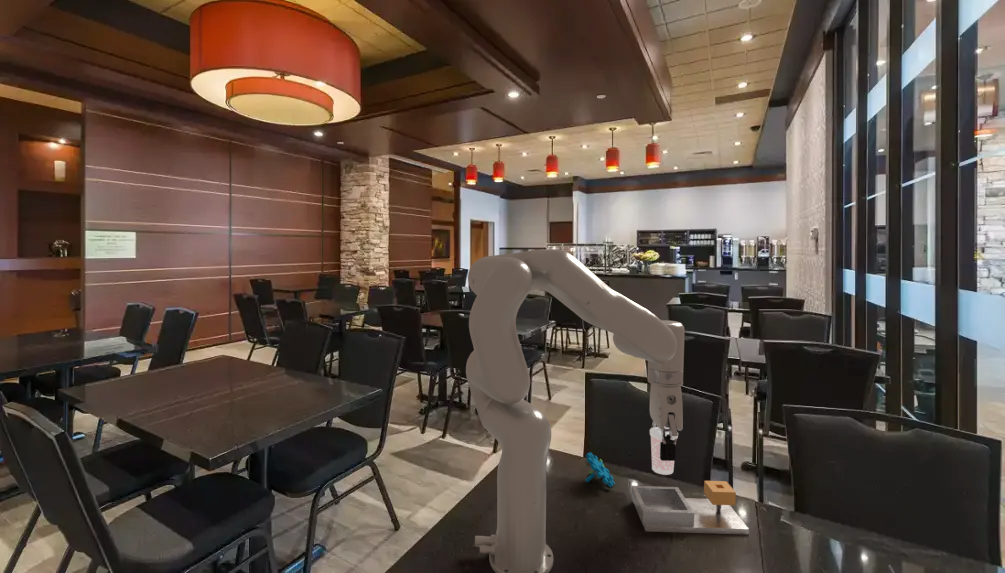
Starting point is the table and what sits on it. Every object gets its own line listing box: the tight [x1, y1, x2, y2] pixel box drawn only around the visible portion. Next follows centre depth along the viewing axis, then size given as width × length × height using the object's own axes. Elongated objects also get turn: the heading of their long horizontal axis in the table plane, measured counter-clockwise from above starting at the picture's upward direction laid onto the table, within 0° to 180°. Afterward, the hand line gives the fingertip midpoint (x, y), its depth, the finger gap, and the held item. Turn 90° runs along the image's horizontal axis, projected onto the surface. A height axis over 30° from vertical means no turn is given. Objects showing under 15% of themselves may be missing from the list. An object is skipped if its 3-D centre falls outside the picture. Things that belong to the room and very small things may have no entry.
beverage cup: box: [649, 426, 679, 476], centre depth 106 cm, size 6×6×14 cm
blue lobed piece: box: [584, 451, 616, 488], centre depth 123 cm, size 11×6×10 cm
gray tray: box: [630, 485, 750, 535], centre depth 107 cm, size 22×12×4 cm, turn 87°
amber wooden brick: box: [703, 480, 737, 506], centre depth 106 cm, size 5×5×3 cm
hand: (663, 452), depth 106 cm, fingers closed on beverage cup, 6 cm apart
